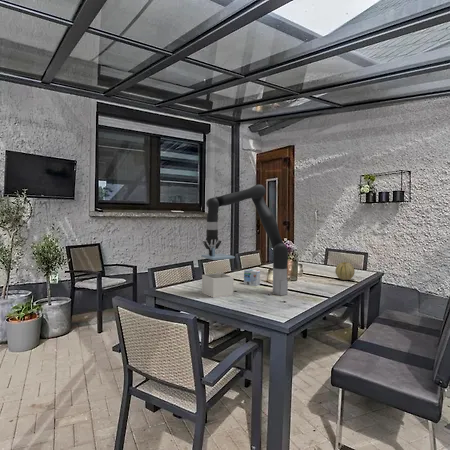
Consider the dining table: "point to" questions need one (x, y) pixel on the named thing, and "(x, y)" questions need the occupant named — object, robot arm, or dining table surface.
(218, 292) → the tub
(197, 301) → the dining table surface
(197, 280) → the dining table surface
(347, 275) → the cantaloupe
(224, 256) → the lid
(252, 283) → the light bulb box
